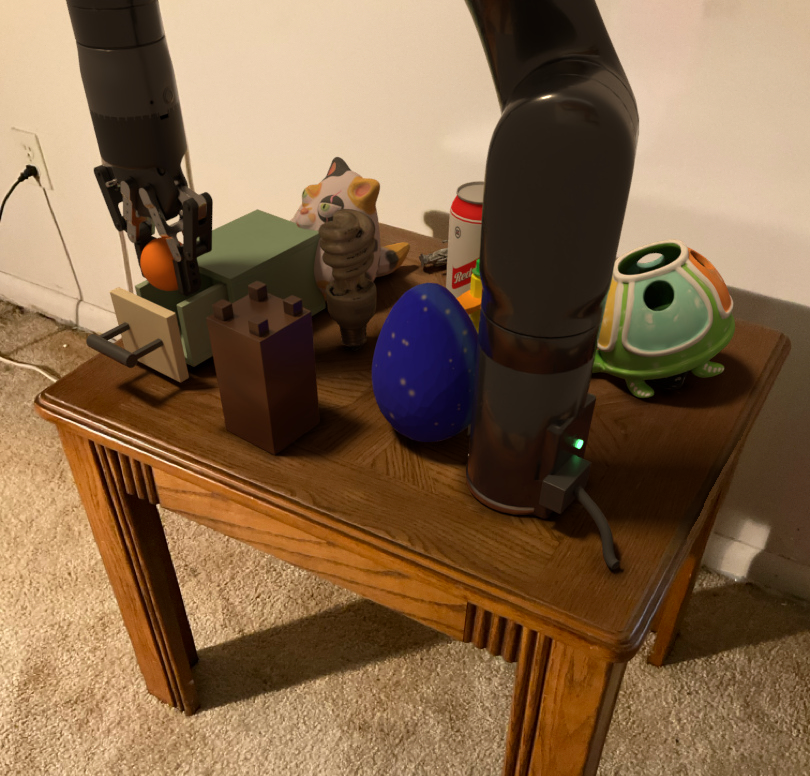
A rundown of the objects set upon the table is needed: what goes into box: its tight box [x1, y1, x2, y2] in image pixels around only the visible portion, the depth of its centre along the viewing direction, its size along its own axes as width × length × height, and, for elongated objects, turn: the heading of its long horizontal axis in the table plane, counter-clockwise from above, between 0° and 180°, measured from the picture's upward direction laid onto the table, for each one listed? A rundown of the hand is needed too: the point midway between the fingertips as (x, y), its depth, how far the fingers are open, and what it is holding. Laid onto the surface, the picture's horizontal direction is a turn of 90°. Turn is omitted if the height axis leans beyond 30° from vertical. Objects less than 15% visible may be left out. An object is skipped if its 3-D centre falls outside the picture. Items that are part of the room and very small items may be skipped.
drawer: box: [85, 273, 229, 383], centre depth 84 cm, size 17×8×7 cm, turn 143°
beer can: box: [445, 180, 484, 319], centre depth 85 cm, size 6×6×16 cm
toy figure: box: [456, 259, 482, 333], centre depth 82 cm, size 7×4×12 cm, turn 137°
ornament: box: [371, 282, 478, 443], centre depth 74 cm, size 11×9×15 cm
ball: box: [140, 236, 183, 291], centre depth 80 cm, size 5×5×5 cm
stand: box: [206, 281, 321, 456], centre depth 74 cm, size 6×6×13 cm
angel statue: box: [418, 239, 448, 269], centre depth 103 cm, size 4×8×4 cm
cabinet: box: [197, 208, 327, 317], centre depth 90 cm, size 14×10×9 cm
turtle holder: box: [592, 238, 736, 399], centre depth 82 cm, size 12×18×12 cm
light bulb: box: [318, 209, 377, 351], centre depth 84 cm, size 6×6×15 cm
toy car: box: [650, 370, 690, 391], centre depth 86 cm, size 8×3×2 cm, turn 151°
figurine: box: [289, 156, 411, 302], centre depth 95 cm, size 12×17×15 cm
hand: (171, 283), depth 82 cm, fingers closed on ball, 5 cm apart
